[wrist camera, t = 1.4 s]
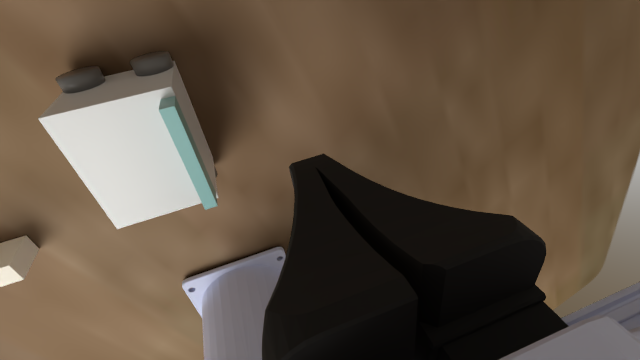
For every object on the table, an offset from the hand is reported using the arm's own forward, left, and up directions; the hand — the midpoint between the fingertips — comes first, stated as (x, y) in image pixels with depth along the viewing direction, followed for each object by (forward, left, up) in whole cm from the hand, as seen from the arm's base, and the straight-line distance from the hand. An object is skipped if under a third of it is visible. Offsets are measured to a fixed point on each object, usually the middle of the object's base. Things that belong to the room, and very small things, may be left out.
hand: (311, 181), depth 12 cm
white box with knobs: (0, +7, -10) cm, 12 cm away
